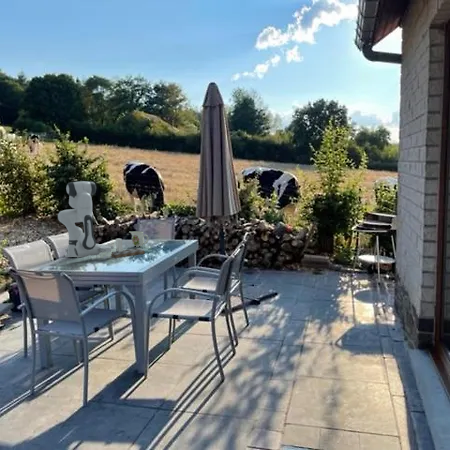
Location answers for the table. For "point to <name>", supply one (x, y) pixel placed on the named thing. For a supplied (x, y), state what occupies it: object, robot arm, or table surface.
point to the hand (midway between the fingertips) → (112, 247)
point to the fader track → (128, 253)
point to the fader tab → (119, 245)
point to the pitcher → (138, 238)
